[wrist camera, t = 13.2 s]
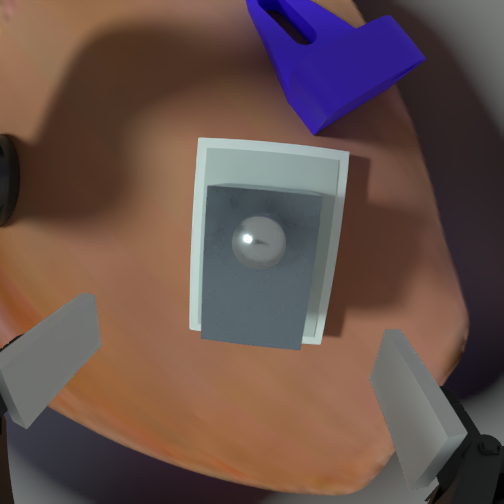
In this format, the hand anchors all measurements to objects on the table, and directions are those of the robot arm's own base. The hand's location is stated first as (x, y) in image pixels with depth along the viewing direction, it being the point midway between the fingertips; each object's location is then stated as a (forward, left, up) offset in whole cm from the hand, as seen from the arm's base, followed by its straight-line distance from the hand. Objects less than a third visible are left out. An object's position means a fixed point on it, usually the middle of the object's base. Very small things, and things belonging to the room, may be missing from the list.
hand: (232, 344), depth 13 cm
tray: (0, 0, -22) cm, 22 cm away
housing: (0, 0, -19) cm, 19 cm away
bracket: (+3, +22, -22) cm, 31 cm away
